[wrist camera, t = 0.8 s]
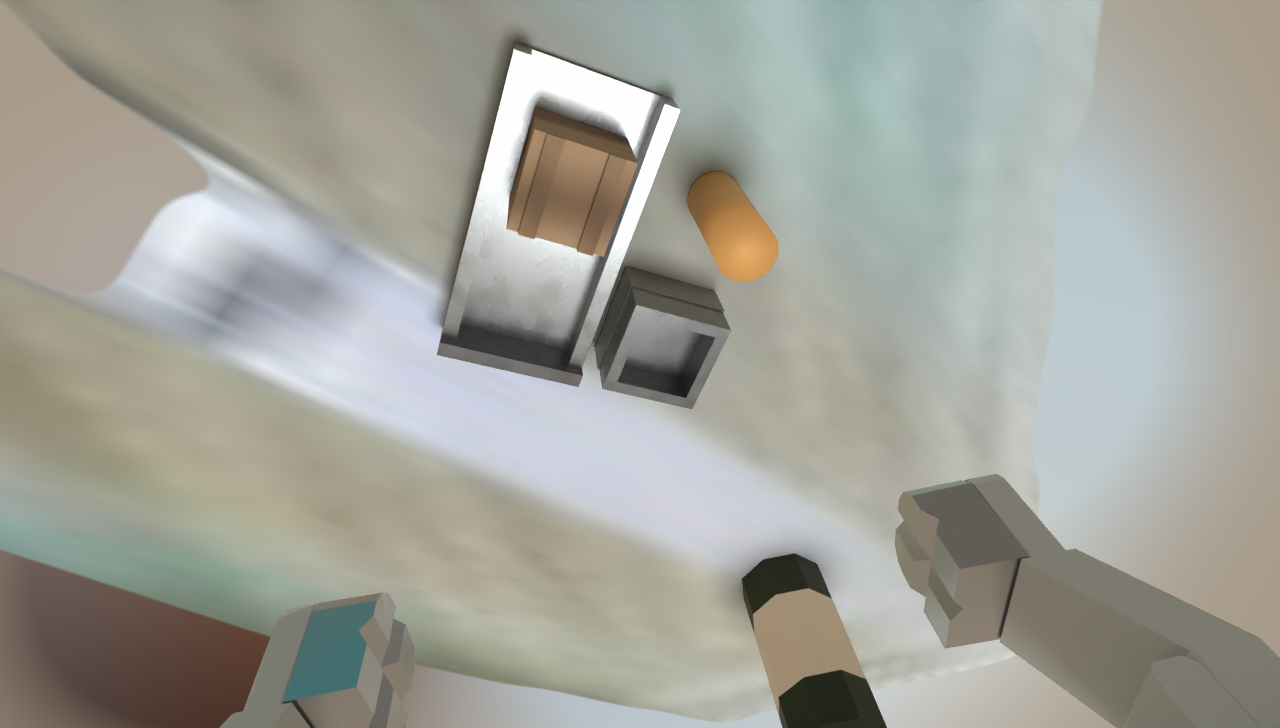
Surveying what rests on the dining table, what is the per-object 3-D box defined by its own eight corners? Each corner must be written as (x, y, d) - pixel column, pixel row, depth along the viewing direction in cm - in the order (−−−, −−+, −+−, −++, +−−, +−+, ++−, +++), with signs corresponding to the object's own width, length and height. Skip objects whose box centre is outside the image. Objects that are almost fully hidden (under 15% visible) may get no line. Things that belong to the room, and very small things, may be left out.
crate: (534, 105, 42) (534, 129, 37) (628, 137, 43) (638, 164, 39) (508, 199, 45) (506, 231, 40) (597, 225, 46) (603, 259, 42)
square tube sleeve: (626, 266, 49) (635, 303, 44) (715, 291, 51) (733, 329, 46) (594, 347, 52) (600, 389, 48) (679, 368, 54) (692, 410, 50)
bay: (514, 41, 40) (513, 52, 37) (673, 99, 43) (683, 114, 40) (442, 328, 50) (437, 354, 47) (575, 360, 53) (578, 386, 50)
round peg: (699, 164, 45) (732, 215, 38) (748, 181, 47) (789, 233, 39) (679, 214, 47) (706, 272, 40) (726, 229, 48) (761, 288, 41)
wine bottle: (729, 605, 72) (832, 978, 47) (755, 550, 67) (884, 927, 43) (802, 610, 74) (938, 969, 49) (832, 556, 69) (998, 920, 44)
